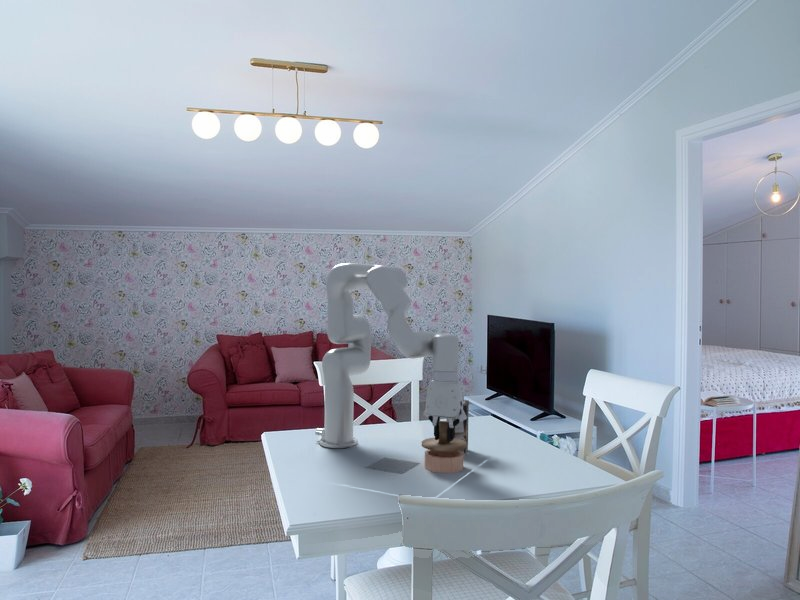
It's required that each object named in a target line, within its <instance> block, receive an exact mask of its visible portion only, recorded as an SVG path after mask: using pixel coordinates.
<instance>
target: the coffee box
mask: <svg viewBox="0 0 800 600" xmlns="http://www.w3.org/2000/svg"><path fill="white" fill-rule="evenodd" d="M469 404H470V403H469V400H466V399H463V410H464V412H465V414H466V416H467V419H465V420H463V421H461V422H459V423H458V424H457V425H456V426H455V438H456V439H460V440H463V441H465V442H466V443H467V447H466V448H465V449H463V450H459V451H462V452H463V454H464V457H466V455H467V453H468V450H469V411H470V410H469V407H470V405H469ZM459 417H460V415H459V416H457V417H456V419H457V418H459ZM446 421H449V418H447V417H446Z"/></svg>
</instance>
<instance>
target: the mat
mask: <svg viewBox="0 0 800 600" xmlns="http://www.w3.org/2000/svg"><path fill="white" fill-rule="evenodd" d="M420 464H421V463H420V462H417V461H415V462H414V461H408V460H403V459H402V460H401V459H396V458H389V457H382V458H381V459H379V460H377V461H375V462H373V463H370V464H369V465H367V466H365V467H364V468H365V469H369V470H376V471H382V472H387V473H393V474H399V475H403V474H405V473H406V472H408V471H410V470H411V469H413V468H415V467H417V466H418V465H420Z"/></svg>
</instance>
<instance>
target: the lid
mask: <svg viewBox="0 0 800 600" xmlns="http://www.w3.org/2000/svg"><path fill="white" fill-rule="evenodd" d="M448 428H449V421H447V420H440V421H439V439H438V440H435V437H429V438H425V439H423V440H422V441H421V447H422V448H424V449H425V450H428V449H429V450H434V451H446V452H448V451H459V450H463V449H465V448H466V447H467V443H466V442H465V441H463V440H460V439H456V438H454V439H453V440H452V441H450V442H448V441H447V429H448Z"/></svg>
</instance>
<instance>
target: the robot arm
mask: <svg viewBox="0 0 800 600" xmlns="http://www.w3.org/2000/svg"><path fill="white" fill-rule="evenodd" d="M407 279H408V278H407V275H406V273H405V271H404V270H403V269H402V268H400V267H398V266H395V265H394V266H392V265H378V264H373V263H372V264H371V263H370V264H369V263H357V262H354V263H353V262H346V263H345V262H344V263H339V264H337V265H335V266H334V267H332V268H331V269H330V270H329V272H328V274H327V277H326V281H325V291H326V298H327V311H326V312H327V313H326V315H327V316H326V318H327V319H326V325H327V326H326V330H327V332H326V334H327V338H328V340H329V341H330V343H332V344H336V345H344V344H345V345H346V344H348V345H347V347H340V348H339V347H338V348H333V349H330V350H328V351H326V353H325V354H324V356H323V357H322V361H321V369H322V374H323V379H324V424H323V425H324V428H319V427H317V428H316V430H315V436H321V438H320V439H319V445H320V446H322V447H324V448H330V449H347V448H351V447H354V446H356V445H358V444H359V439H357V438H356V437H354V403H355V402H354V401H355V400H354V399H355V395H354V394H355V390H354V386H353V383H352V380H351V379H350V377H351V376H358V375H362V374H364V373H366V372H367V371H368V369H370V368H369V367H370V365H371V355H372V353H371V351H372V349H371V346H372V331H371V330H372V328H371V324H370V322H369V321H368V319H367V318H366V317H365V316H363V315H361V314H354V299H353V297H352V294H351V293H350V291H351V290H365V291H366V290H369V291H371V293H372V295H373V296H374V297H375V299H376V300H377V302H378V303H379V304H380V306H381V307H382V309H383V311H384V312H385V314H386V316H387V319H386V320H387V322H386V323H387V330H388V334H389V336H390V339H391V340H392V341H393V343H394V344H395V346H396V347H397V349H398V350H399V352H400V353H401V354H402V355H403V356H405V357H406V358H409V359H412V360H413V359H421V358H430V357H432V364H431V365H432V366H431V367H432V369H431V370H429V371H428V372H427V375H428V376H427V377H431V380H429V381H428V386H427V392H426V399H425V401H426V402H425V409H424V411H423V413H422V415H423V416H424V417H426V418H427V419H428V420H429V421H430V423H431V425H432V426H433V436H434V438H435V440H438V439H439V421H441V418H446V419H447V418H449V428H448V429H447V441H448V442H450V441H452V440H453V439H454V438H455V426H456V425H457V424H458V423H459V422H461V421H463V420H465V419H467V416H466V414H465V412H464V410H463V400H464V397H463V390H462V384H461V381H459V359H460V358H459V355H460V354H459V353H460V349H459V348H460V340H459V339H460V338H459V336H458V335H456V334H453V333H440V332H435V331H429V330H428V331H417V332H416V331H415V332H414V330H413V329H412V327H411V326H410V325H409V323H408V321H407V319H406V316H405V313H407V311H408V310H410V308H411V305H412V299H411V298H410V297H409V295H408V294H407V293H406V291H405V289H406V288H407V283H408V280H407ZM459 415H460V417H459V418H457V419H456V417H457V416H459Z"/></svg>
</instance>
